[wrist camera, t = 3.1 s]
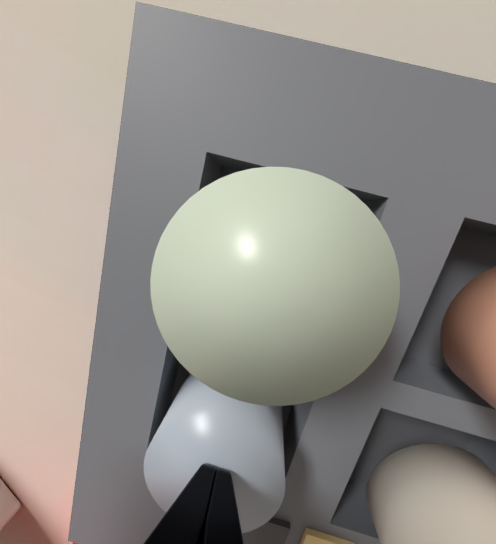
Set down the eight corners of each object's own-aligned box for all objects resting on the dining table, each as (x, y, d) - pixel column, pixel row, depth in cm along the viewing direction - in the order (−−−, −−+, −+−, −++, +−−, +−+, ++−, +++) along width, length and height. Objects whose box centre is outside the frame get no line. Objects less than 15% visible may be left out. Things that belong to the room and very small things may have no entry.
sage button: (364, 211, 7) (443, 204, 4) (317, 344, 8) (348, 432, 4) (219, 174, 7) (174, 137, 4) (190, 309, 8) (133, 369, 5)
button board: (661, 185, 8) (887, 166, 5) (430, 570, 13) (482, 685, 10) (179, 70, 9) (131, -6, 6) (112, 470, 13) (64, 546, 10)
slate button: (294, 370, 10) (304, 443, 6) (266, 453, 10) (263, 551, 7) (193, 341, 10) (155, 399, 7) (174, 425, 11) (133, 510, 8)
